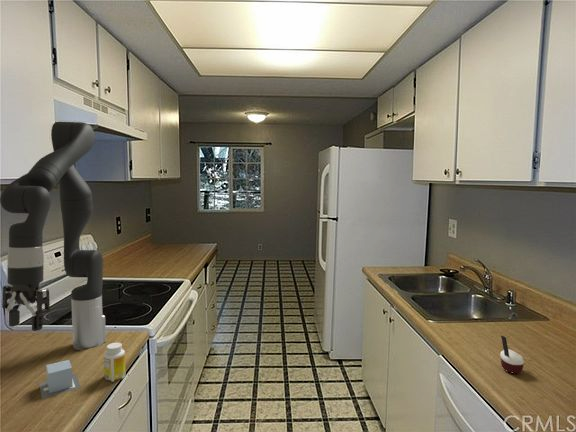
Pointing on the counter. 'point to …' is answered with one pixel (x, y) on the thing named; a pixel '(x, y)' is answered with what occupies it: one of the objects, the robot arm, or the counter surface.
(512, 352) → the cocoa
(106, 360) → the supplement bottle
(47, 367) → the blue block
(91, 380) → the counter surface
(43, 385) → the board
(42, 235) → the robot arm
